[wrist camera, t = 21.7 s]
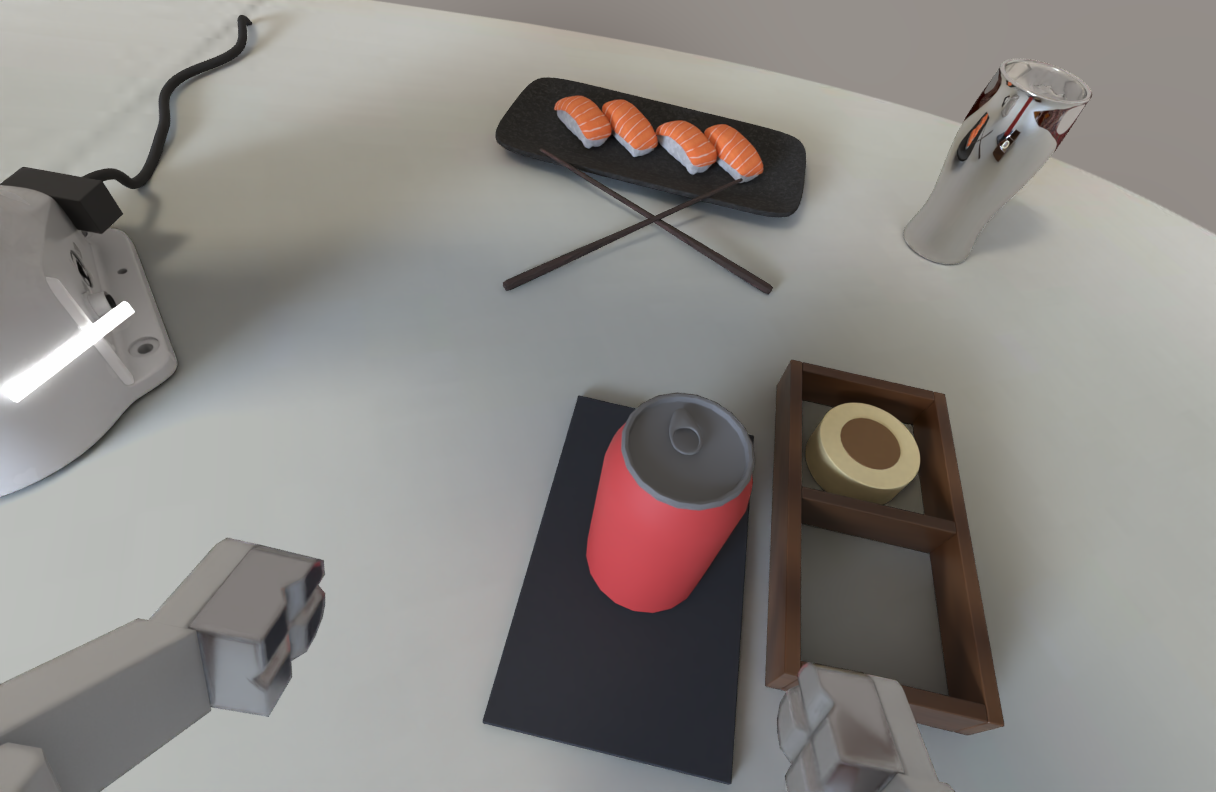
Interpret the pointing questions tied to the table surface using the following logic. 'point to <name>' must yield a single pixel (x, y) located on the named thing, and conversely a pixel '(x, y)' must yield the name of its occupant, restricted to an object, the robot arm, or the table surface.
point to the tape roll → (862, 453)
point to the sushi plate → (654, 157)
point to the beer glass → (996, 154)
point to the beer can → (668, 500)
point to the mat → (619, 637)
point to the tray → (932, 533)
